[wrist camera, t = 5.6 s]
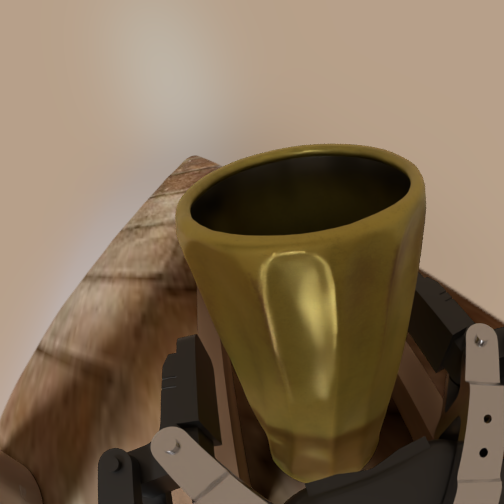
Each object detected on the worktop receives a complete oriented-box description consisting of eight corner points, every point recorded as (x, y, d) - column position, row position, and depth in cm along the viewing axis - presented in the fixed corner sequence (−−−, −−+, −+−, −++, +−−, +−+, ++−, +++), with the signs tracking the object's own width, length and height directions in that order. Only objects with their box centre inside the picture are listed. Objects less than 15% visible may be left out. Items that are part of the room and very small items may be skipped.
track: (229, 521, 10) (179, 509, 7) (204, 278, 28) (184, 225, 25) (446, 448, 10) (492, 400, 7) (321, 246, 29) (315, 190, 26)
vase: (289, 384, 17) (228, 149, 9) (385, 396, 14) (420, 137, 7) (254, 471, 12) (91, 255, 5) (365, 492, 10) (495, 276, 2)
